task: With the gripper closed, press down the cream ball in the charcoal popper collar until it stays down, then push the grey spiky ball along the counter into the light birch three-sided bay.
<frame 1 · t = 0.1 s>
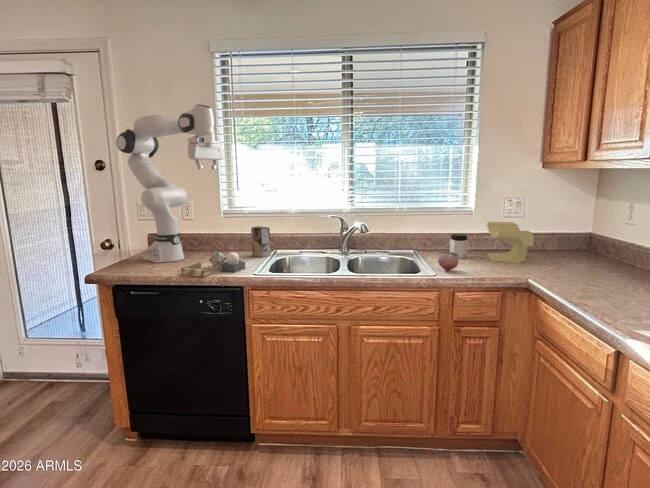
hand: (207, 169, 188), 48 cm above the worktop, tool pointing down, fingers open, 8 cm apart
cream ball: (232, 259, 187), point 5 cm above the worktop, slide at 0.0 cm
grey spiky ball: (218, 267, 193), on the worktop
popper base: (233, 269, 188), on the worktop
decorative fruit: (447, 271, 182), on the worktop
coffee box: (261, 255, 218), on the worktop
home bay: (201, 272, 183), on the worktop
olive c-shaped block: (506, 259, 203), on the worktop
jar: (457, 256, 211), on the worktop
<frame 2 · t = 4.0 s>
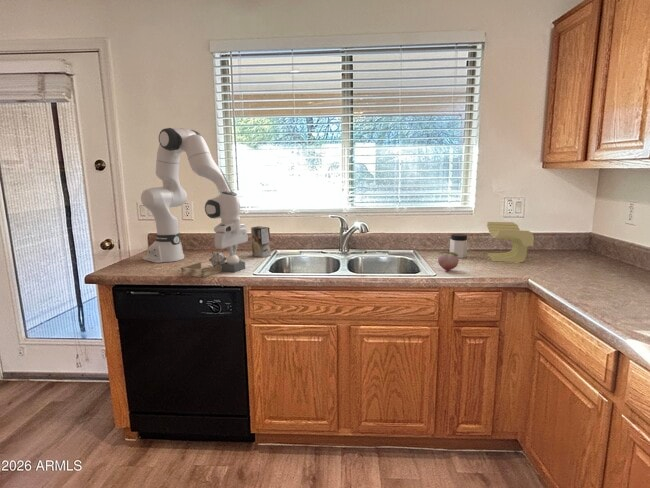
hand: (232, 254, 186), 8 cm above the worktop, tool pointing down, fingers closed, pressing on cream ball
cream ball: (233, 261, 187), point 4 cm above the worktop, slide at 1.0 cm, touching gripper
everything else where it was.
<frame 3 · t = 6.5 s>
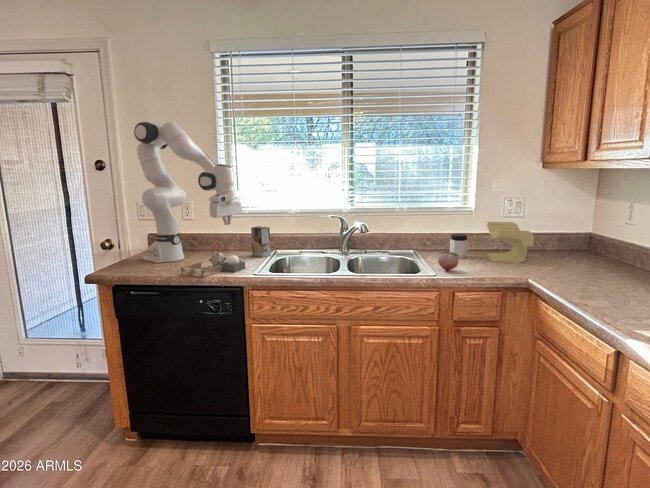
hand: (227, 224, 196), 20 cm above the worktop, tool pointing down, fingers closed
cream ball: (233, 262, 187), point 4 cm above the worktop, slide at 1.5 cm
everything else where it was.
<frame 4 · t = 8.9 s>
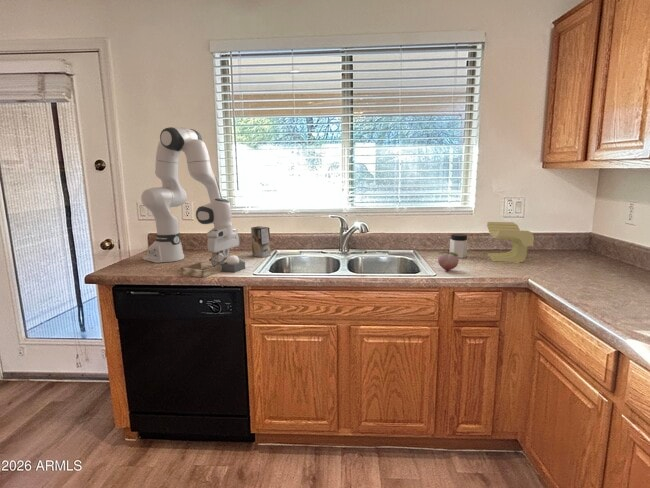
hand: (225, 257, 197), 4 cm above the worktop, tool pointing down, fingers closed
grey spiky ball: (218, 267, 193), on the worktop, touching gripper
everything else where it was.
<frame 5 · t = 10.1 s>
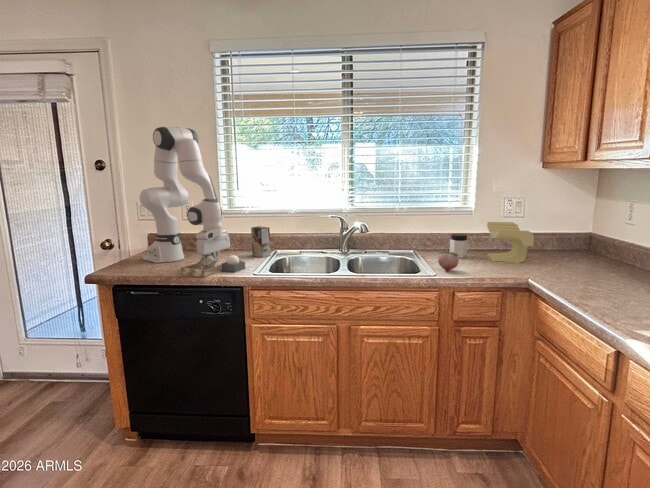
hand: (215, 260, 189), 4 cm above the worktop, tool pointing down, fingers closed, pressing on grey spiky ball
grey spiky ball: (209, 270, 187), on the worktop, touching gripper
everything else where it was.
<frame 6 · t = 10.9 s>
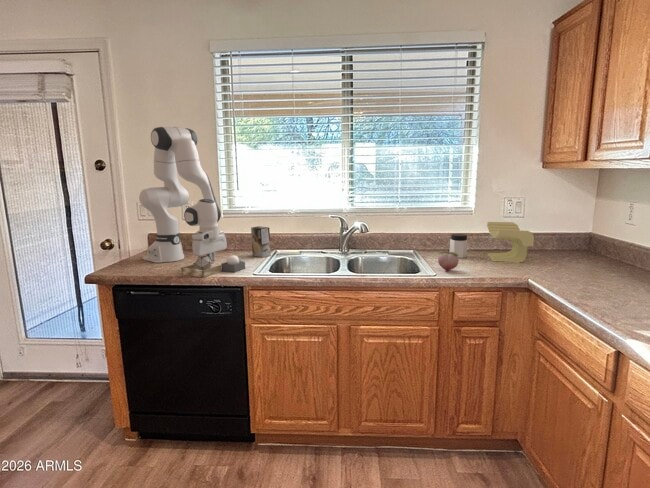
hand: (211, 261, 187), 4 cm above the worktop, tool pointing down, fingers closed
grey spiky ball: (204, 271, 185), on the worktop, touching gripper
everything else where it was.
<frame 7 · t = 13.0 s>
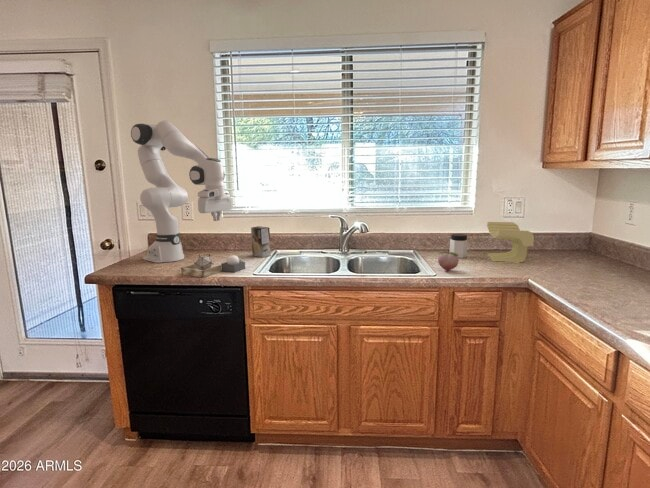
hand: (216, 220, 190), 23 cm above the worktop, tool pointing down, fingers closed
grey spiky ball: (204, 272, 185), on the worktop
everything else where it was.
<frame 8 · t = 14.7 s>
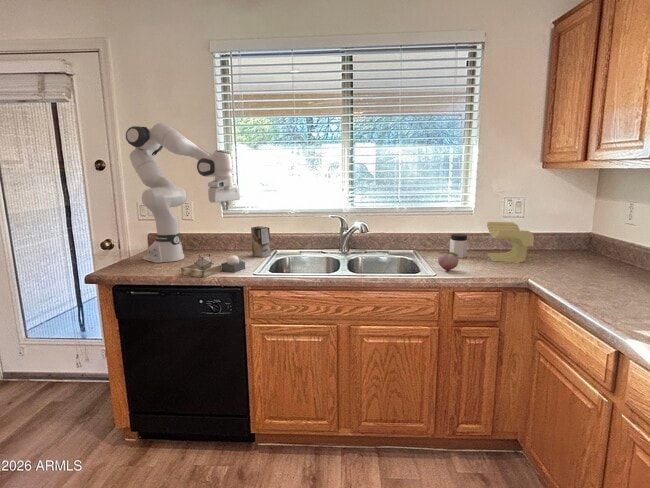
hand: (225, 210, 200), 27 cm above the worktop, tool pointing down, fingers closed
nothing on the worktop moved.
at the end: cream ball slide at 1.5 cm; grey spiky ball inside the target area (1.8 cm from its centre), on the worktop; grey spiky ball tilted 0° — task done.
